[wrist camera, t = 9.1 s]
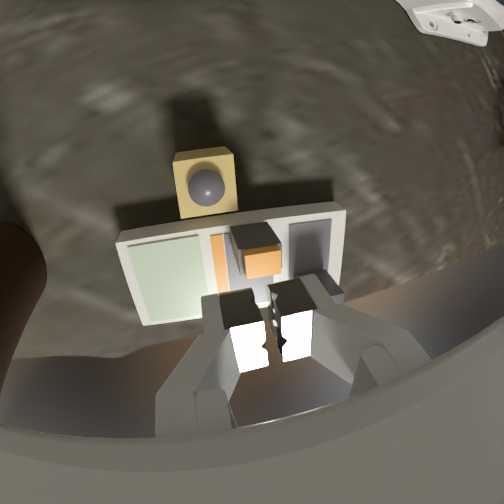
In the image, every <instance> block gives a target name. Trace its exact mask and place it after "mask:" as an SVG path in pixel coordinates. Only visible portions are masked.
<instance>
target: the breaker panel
mask: <svg viewBox="0 0 504 504" xmlns="http://www.w3.org/2000/svg"><path fill="white" fill-rule="evenodd" d="M345 220H346V210H345V209H344V208H343V207H341V206H340V205H338V204H337V203H335V202H334V201H332V202H322V203H313V204H304V205H295V206H286V207H278V208H269V209H261V210H254V211H246V212H238V213H231V214H224V215H217V216H210V217H203V218H197V219H190V220H184V221H177V222H171V223H165V224H159V225H153V226H147V227H141V228H136V229H130V230H124V231H121V233H120V235H119V237H118V239H117V241H116V243H115V244H116V247H117V251H118V254H119V258H120V261H121V264H122V267H123V271H124V274H125V277H126V280H127V283H128V286H129V289H130V292H131V294H132V297H133V300H134V303H135V306H136V308H137V311H138V314H139V316H140V319H141V322H142V324H143V326H145V325H153V324H161V323H169V322H176V321H183V320H190V319H197V318H202V308H201V296H206V295H211V294H216V293H217V294H218V295H219V293H222V292H228V291H234V290H240V289H245V288H252V290H253V292H254V296H255V304H257V305H258V307H259V308H262V307H267V306H268V305H269V302H268V299H267V297H266V285H267V284H272V283H277V282H281V281H286V280H290V279H295V278H296V274H302V273H307V272H313V271H318V270H323V269H326V270H327V272H328V273H329V274H330V275H331V277H332V278H333V279H334V280H335V282H336V283H337V284H338V285H339V280H340V272H341V263H342V254H343V243H344V232H345ZM266 221H267V222H268V224H269V225H270V227H271V228H272V230H273V231H274V232H275V234H276V235H277V237H278V238H279V240H280V241H281V243H282V268H281V274H276V275H270V276H264V277H258V278H253V279H246V276H245V274H244V275H240V272H239V269H238V266H237V263H236V260H235V257H234V254H233V251H232V245H231V235H230V226H237V225H244V224H251V223H259V222H266Z"/></svg>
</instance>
